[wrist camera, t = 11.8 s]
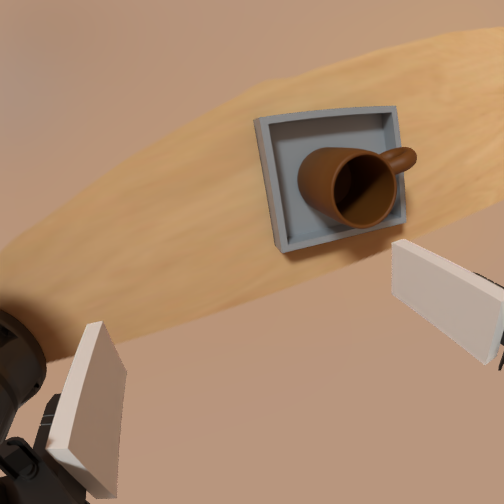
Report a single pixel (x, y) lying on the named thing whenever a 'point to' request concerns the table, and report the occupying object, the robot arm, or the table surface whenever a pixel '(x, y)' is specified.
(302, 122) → the tray
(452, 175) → the table surface
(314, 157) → the mug
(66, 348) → the table surface
